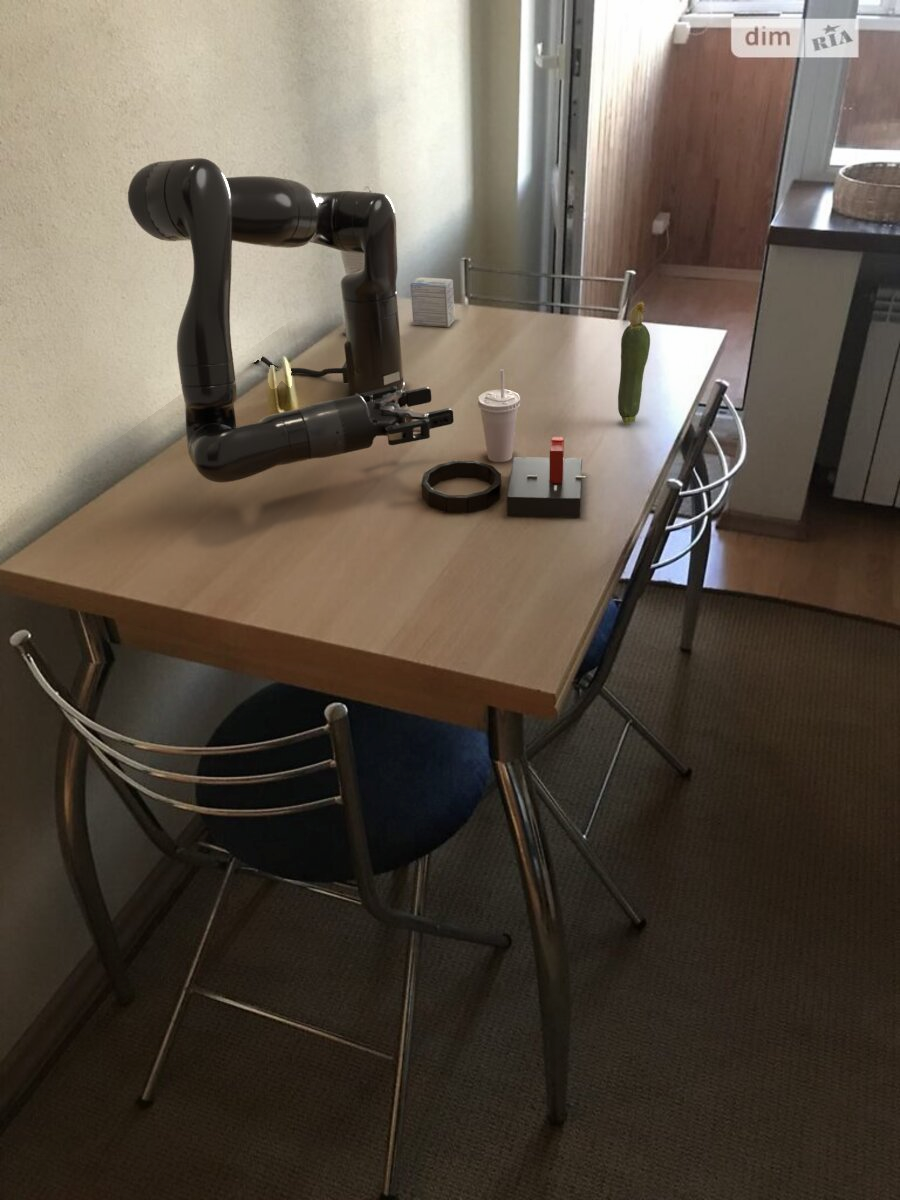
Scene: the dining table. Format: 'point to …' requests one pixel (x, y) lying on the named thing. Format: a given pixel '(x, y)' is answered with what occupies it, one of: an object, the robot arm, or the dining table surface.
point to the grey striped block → (432, 302)
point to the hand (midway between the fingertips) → (441, 404)
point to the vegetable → (633, 364)
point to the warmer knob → (556, 460)
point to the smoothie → (499, 421)
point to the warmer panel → (544, 488)
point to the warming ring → (461, 501)
